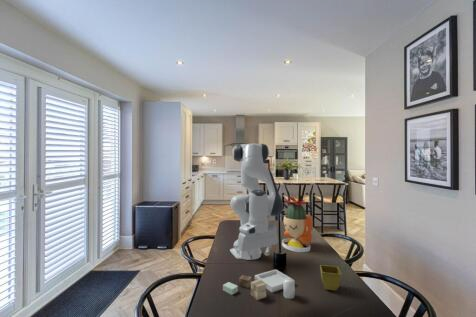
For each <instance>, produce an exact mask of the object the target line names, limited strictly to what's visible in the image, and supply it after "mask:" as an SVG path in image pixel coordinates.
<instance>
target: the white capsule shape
mask: <svg viewBox="0 0 476 317" xmlns="http://www.w3.org/2000/svg"><path fill="white" fill-rule="evenodd" d="M295 281H296V280H295V279H294V278H292V277H290V278H285V279H284V280H283V289H282V290H283V294H282V295H283V297H284V298H285V299H287V300H288V299H289V300H292V299H294V298H295V296H296V295H295V293H296V292H295V289H296V287H295V285H296V284H295V283H296V282H295Z"/></svg>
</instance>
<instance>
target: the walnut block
mask: <svg viewBox="0 0 476 317" xmlns="http://www.w3.org/2000/svg"><path fill="white" fill-rule="evenodd" d="M251 282H252V276H250V275H244V274H242V275H241V276H240V277H239V278H238V287H243V288H247V289H249V288H251Z"/></svg>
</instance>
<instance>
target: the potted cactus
mask: <svg viewBox="0 0 476 317" xmlns="http://www.w3.org/2000/svg"><path fill="white" fill-rule="evenodd" d="M288 199H289V200H284V203H287V204H289V205H287V208H286V212H285V215H284V216H283V226H284V229H285V230H284V233H283V234H284V236H285V237H287V238H284V239H282V241H281V246H282V248H284V249H286V250H289V251H293V252H296V253H309V252H310V250H311V244H310V243H311V242H312V241H313V234H312V231H313V225H314V219H313V216H312V215H310V214H307V212H306V211H307V210H306V209H305V208H306V207H304V205H306V204H307V202H306V201H305V199H301V200H299V199H296V198H294V197H292V196H288ZM298 238H299V239H298ZM286 243H287V244H286ZM304 246H306V247H304Z"/></svg>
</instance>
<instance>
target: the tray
mask: <svg viewBox="0 0 476 317" xmlns="http://www.w3.org/2000/svg"><path fill="white" fill-rule="evenodd" d="M285 278H291V277H290V276H288V275H287V274H284V273H283V272H281V271H279V269H272V270H269V271H265V272H261V273H258V274H255V275H254V281H256V280H259V279H260V280H261V281H263V282H264V283H266V290H267V291H269V292H271V293H275V292H279V291H281V290H283V280H284V279H285Z"/></svg>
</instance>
